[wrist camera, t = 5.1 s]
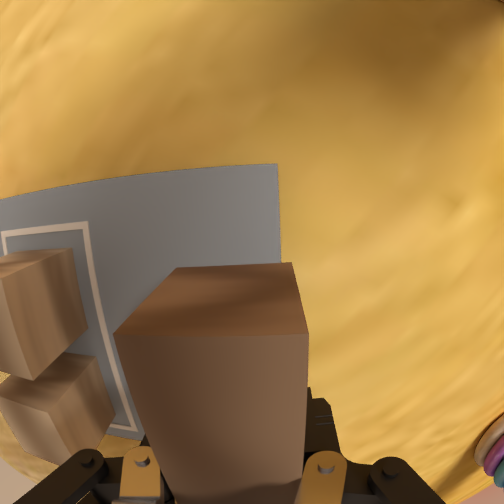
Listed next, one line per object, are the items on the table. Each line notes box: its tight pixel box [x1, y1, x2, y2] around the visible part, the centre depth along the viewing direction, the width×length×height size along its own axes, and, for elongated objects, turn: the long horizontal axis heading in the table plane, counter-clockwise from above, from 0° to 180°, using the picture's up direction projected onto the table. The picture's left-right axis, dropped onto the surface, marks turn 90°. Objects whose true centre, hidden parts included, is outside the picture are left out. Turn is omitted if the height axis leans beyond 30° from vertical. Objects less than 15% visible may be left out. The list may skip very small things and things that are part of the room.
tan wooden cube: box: [0, 248, 88, 381], centre depth 13 cm, size 5×5×6 cm
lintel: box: [113, 262, 309, 504], centre depth 10 cm, size 4×12×5 cm, turn 4°
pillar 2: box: [0, 352, 116, 466], centre depth 15 cm, size 5×5×6 cm
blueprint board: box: [0, 164, 281, 441], centre depth 17 cm, size 22×18×1 cm
